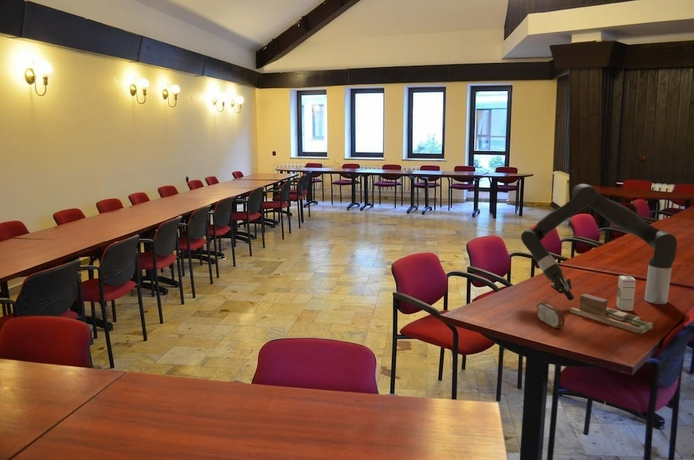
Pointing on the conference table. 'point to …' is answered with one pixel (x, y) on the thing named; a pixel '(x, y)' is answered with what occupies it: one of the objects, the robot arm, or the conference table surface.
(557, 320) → the tin
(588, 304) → the block
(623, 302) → the syrup box
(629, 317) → the lane
